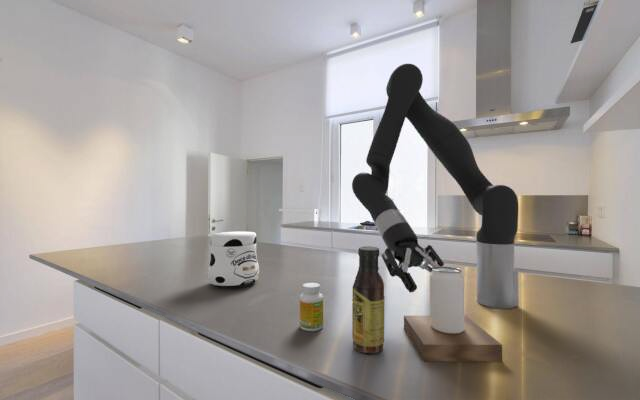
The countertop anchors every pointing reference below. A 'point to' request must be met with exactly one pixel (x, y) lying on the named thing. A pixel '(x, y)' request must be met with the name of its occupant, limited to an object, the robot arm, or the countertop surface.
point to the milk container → (233, 259)
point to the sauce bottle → (368, 303)
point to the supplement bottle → (311, 307)
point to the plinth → (452, 342)
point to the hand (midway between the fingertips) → (429, 288)
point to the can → (447, 300)
